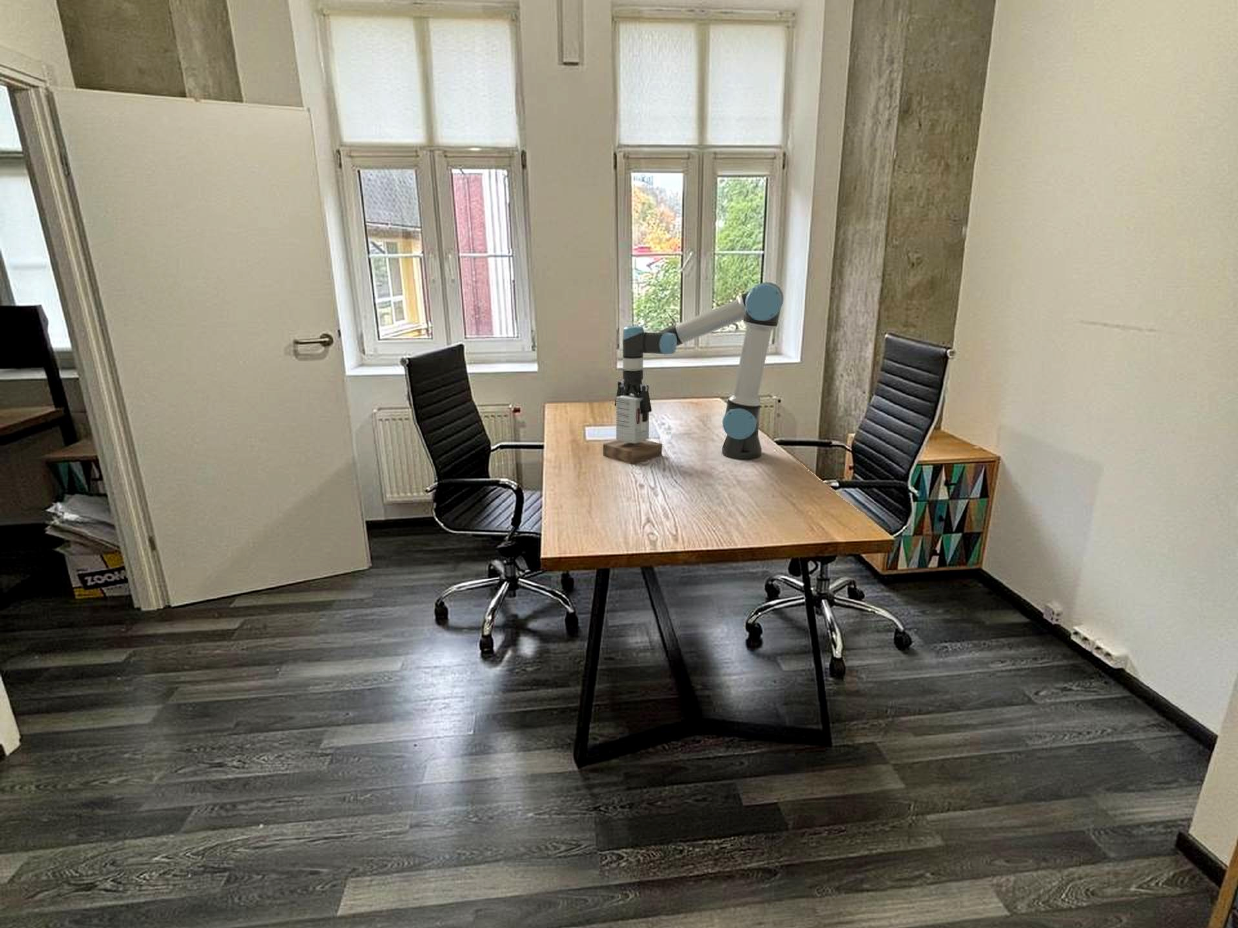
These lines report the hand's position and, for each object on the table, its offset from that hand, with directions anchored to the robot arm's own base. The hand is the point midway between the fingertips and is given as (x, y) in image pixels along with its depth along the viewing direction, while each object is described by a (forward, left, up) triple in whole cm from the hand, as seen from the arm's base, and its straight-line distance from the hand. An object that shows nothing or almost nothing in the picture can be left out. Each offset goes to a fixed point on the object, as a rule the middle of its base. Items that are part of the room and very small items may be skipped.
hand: (632, 427), depth 245 cm
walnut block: (0, 0, -12) cm, 12 cm away
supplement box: (0, 0, -5) cm, 5 cm away
